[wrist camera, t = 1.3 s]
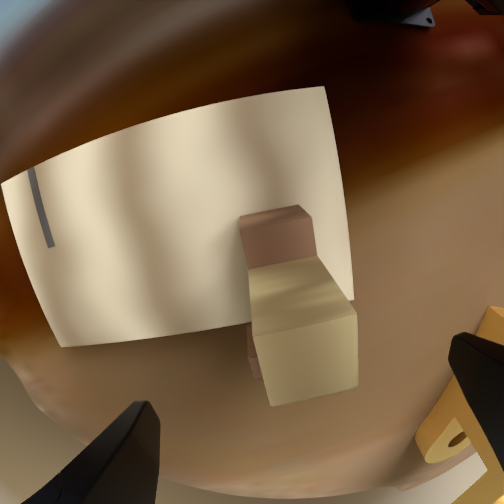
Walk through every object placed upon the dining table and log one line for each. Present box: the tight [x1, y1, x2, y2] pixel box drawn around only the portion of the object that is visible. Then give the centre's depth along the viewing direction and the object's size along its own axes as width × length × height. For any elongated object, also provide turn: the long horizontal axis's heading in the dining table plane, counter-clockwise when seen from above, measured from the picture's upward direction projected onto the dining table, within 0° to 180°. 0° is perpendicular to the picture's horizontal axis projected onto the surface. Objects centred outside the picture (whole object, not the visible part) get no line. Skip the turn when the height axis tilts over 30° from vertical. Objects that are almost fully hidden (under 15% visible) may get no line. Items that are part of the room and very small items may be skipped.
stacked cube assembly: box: [240, 204, 358, 407], centre depth 14 cm, size 5×8×10 cm, turn 11°
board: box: [1, 86, 354, 347], centre depth 17 cm, size 20×12×3 cm, turn 101°
